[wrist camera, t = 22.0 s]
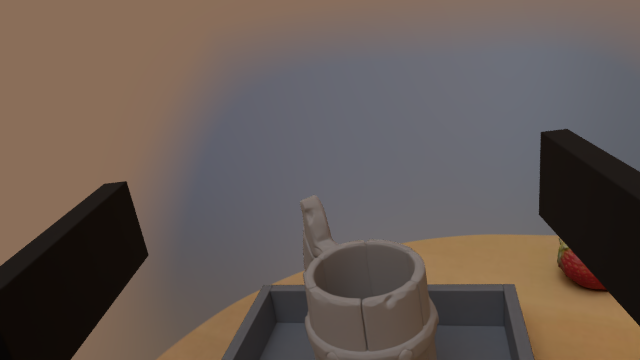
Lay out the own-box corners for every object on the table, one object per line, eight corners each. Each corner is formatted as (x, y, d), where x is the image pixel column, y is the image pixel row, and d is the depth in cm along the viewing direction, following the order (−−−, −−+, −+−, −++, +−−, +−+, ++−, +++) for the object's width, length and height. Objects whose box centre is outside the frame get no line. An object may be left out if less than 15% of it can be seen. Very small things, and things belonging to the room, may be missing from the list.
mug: (361, 498, 24) (326, 293, 20) (275, 361, 34) (240, 207, 30) (479, 425, 27) (470, 233, 23) (366, 319, 37) (346, 173, 33)
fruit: (635, 308, 35) (641, 247, 33) (546, 288, 38) (547, 232, 37) (642, 278, 38) (648, 221, 36) (559, 262, 42) (561, 210, 40)
